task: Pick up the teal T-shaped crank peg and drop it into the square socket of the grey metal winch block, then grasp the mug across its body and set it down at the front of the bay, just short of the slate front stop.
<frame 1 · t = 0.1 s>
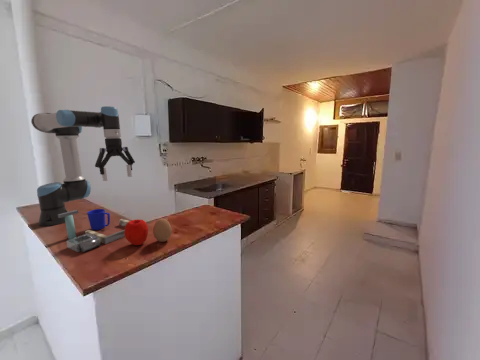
hand: (118, 178, 122), 28 cm above the table, fingers open, 13 cm apart
mug: (101, 228, 128), on the table
apple: (138, 244, 107), on the table
winch block: (83, 245, 107), on the table
bay: (114, 232, 121), on the table
egg: (163, 241, 110), on the table
crank peg: (72, 237, 116), on the table
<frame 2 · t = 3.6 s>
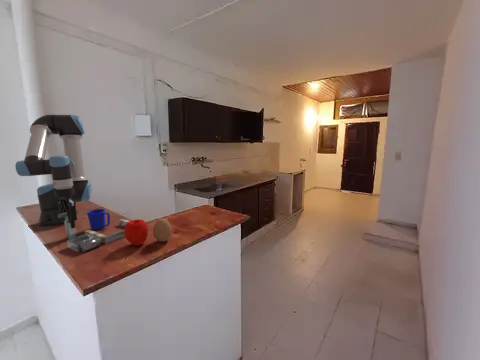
hand: (71, 232, 116), 3 cm above the table, fingers closed on crank peg, 3 cm apart
crank peg: (72, 237, 116), on the table, touching gripper
everything else where it was.
when the fingers open (5 cm above the table, at t = 8.1 s): crank peg stays where it is, resting on winch block.
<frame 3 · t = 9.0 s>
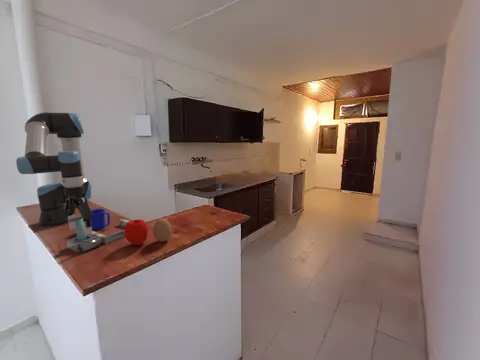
hand: (81, 231, 106), 7 cm above the table, fingers open, 13 cm apart
crank peg: (82, 243, 107), point 1 cm above the table, touching winch block
everything else where it was.
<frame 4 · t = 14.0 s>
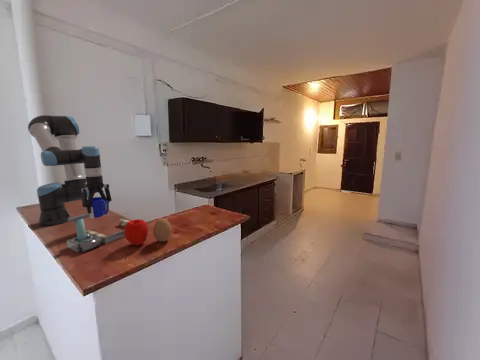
hand: (99, 216, 127), 7 cm above the table, fingers closed on mug, 7 cm apart
mug: (100, 216, 128), point 6 cm above the table, touching gripper
everything else where it was.
when the fingers open (0 cm above the table, at t = 18.5 s): mug stays where it is, resting in bay.
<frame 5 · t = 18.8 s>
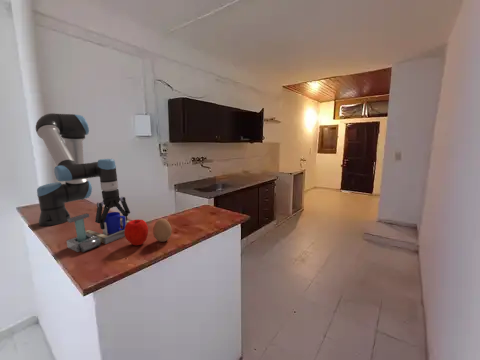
hand: (115, 230, 121), 1 cm above the table, fingers open, 10 cm apart
mug: (116, 232, 122), resting in bay
everything else where it was.
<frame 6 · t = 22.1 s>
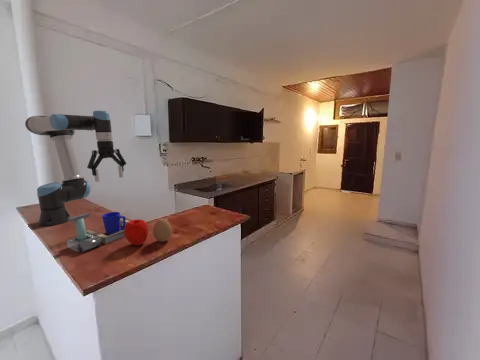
hand: (109, 179, 128), 27 cm above the table, fingers open, 13 cm apart
nothing on the table moved.
at the end: crank peg 0.1 cm off-centre on the winch block, point 1.1 cm above the winch block's base; mug inside the target area (1.3 cm from its centre), resting in bay; mug tilted 0° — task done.
